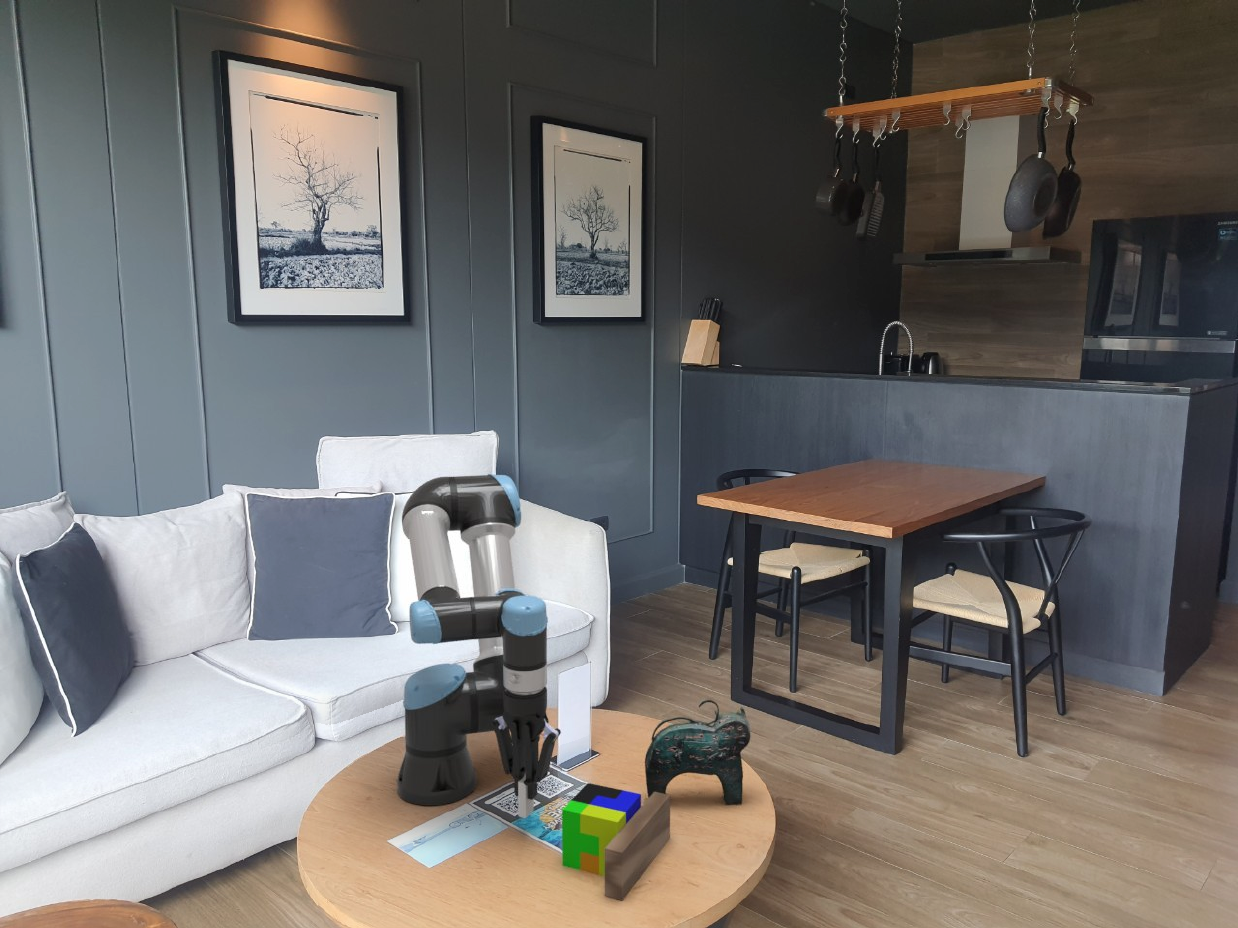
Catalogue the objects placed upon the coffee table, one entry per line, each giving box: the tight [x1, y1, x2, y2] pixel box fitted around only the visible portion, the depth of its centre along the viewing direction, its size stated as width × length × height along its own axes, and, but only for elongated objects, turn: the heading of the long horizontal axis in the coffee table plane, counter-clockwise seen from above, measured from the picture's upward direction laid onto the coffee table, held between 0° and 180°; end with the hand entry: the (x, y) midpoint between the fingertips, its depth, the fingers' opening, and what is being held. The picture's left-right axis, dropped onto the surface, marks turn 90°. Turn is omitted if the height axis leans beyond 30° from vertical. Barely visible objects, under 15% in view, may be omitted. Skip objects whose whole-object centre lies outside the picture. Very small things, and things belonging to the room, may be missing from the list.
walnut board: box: [604, 792, 671, 901], centre depth 152 cm, size 3×20×8 cm, turn 155°
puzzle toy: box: [561, 782, 642, 877], centre depth 155 cm, size 10×10×10 cm
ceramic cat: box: [644, 698, 751, 806], centre depth 172 cm, size 20×6×20 cm, turn 92°
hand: (526, 813), depth 162 cm, fingers closed
